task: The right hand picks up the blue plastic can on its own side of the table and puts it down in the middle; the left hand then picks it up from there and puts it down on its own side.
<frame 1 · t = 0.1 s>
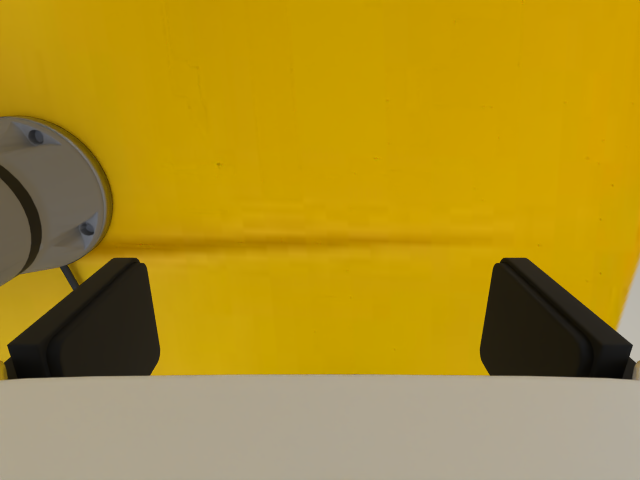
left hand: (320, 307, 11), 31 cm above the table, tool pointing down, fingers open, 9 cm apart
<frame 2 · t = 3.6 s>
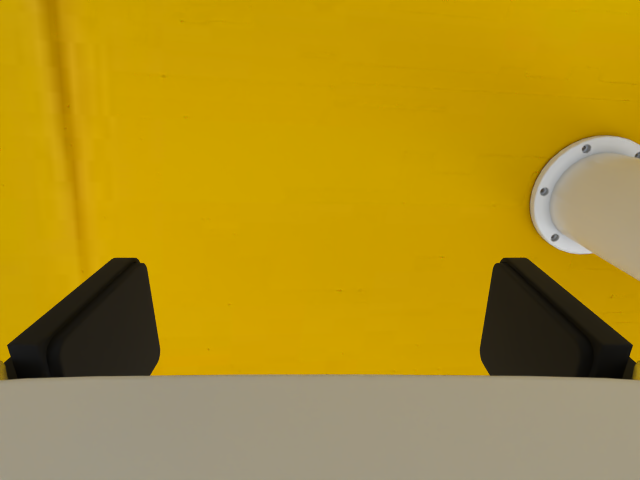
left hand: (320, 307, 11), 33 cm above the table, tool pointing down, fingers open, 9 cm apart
when the right hand's fingers open (6 cm above the table, at t = 8.5 s): can drops 2 cm, on the table.
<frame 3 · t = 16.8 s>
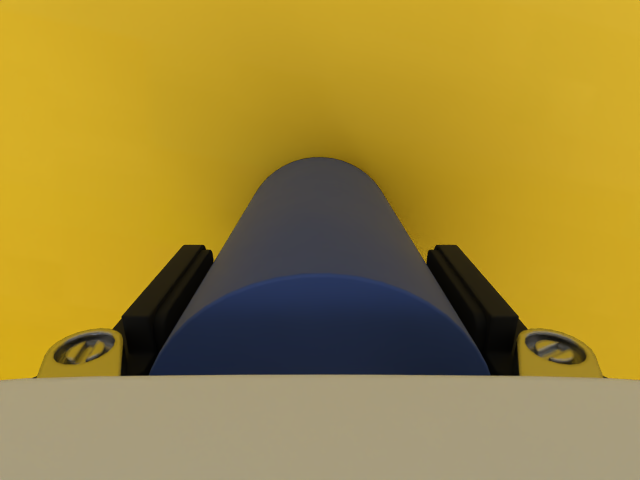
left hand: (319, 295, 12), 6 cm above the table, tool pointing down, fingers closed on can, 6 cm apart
can: (319, 229, 17), on the table, touching left hand
when the left hand's fingers open (7 cm above the table, at t = 21.9 s): can drops 1 cm, on the table.
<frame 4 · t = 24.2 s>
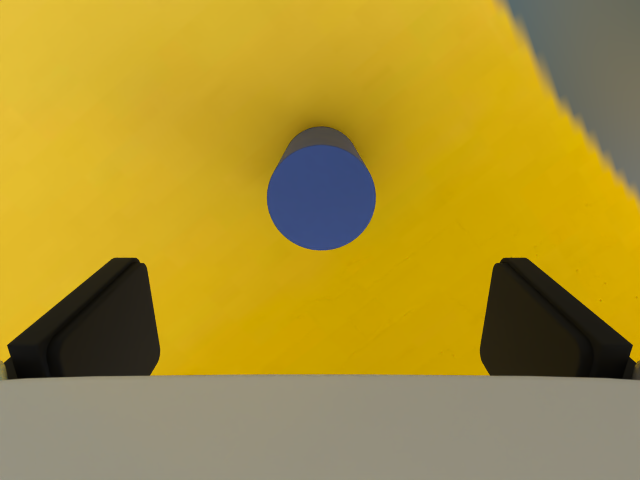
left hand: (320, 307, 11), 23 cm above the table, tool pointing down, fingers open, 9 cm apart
can: (320, 165, 33), on the table
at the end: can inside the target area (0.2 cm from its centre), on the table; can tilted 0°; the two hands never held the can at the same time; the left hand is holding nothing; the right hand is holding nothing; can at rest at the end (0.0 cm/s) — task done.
